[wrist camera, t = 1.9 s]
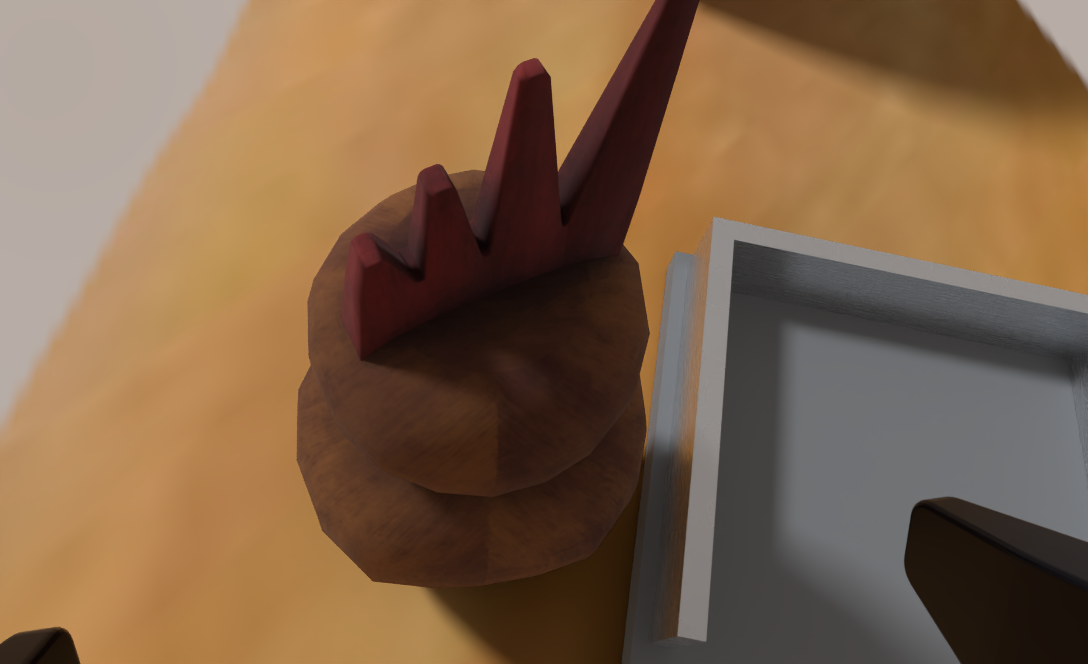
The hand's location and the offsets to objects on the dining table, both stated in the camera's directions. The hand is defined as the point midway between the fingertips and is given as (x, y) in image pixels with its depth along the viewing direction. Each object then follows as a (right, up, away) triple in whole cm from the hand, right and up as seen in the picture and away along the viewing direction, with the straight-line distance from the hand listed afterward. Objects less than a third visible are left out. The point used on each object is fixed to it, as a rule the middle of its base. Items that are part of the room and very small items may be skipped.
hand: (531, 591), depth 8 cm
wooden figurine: (-2, -1, +12) cm, 12 cm away
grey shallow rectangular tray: (+9, -4, +12) cm, 15 cm away
